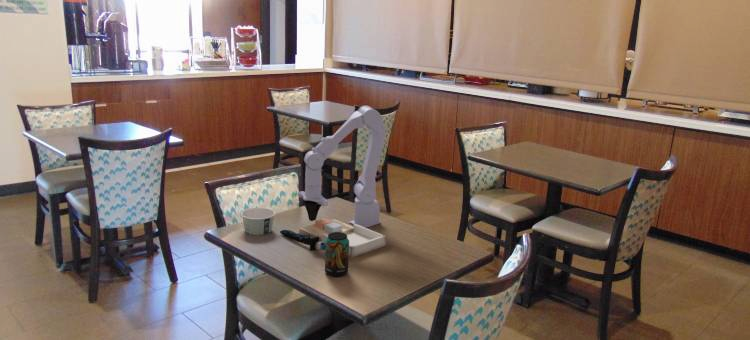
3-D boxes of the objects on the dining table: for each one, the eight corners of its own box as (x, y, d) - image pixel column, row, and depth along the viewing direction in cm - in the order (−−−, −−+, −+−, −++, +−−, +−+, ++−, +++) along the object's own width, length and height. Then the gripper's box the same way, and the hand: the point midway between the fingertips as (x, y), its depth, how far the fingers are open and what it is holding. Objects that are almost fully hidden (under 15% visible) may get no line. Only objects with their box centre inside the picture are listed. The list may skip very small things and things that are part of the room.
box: (355, 233, 203) (355, 223, 202) (385, 245, 193) (386, 235, 192) (321, 243, 192) (321, 234, 191) (351, 257, 182) (351, 247, 181)
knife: (341, 257, 179) (340, 243, 178) (333, 259, 177) (333, 245, 176) (286, 237, 201) (285, 225, 200) (279, 239, 199) (278, 227, 198)
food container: (234, 228, 202) (234, 211, 200) (264, 222, 210) (264, 205, 208) (252, 239, 193) (252, 221, 192) (281, 231, 201) (282, 214, 199)
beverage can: (329, 279, 166) (330, 241, 163) (321, 269, 172) (322, 232, 169) (351, 275, 169) (352, 238, 166) (343, 266, 175) (344, 230, 172)
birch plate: (333, 223, 211) (333, 218, 210) (355, 233, 203) (355, 227, 202) (299, 233, 200) (299, 228, 199) (321, 243, 192) (321, 238, 191)
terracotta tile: (324, 223, 205) (324, 218, 205) (332, 226, 202) (333, 221, 202) (315, 226, 202) (315, 220, 202) (323, 229, 199) (323, 224, 199)
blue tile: (333, 227, 202) (333, 222, 201) (342, 230, 199) (342, 225, 198) (324, 230, 199) (324, 224, 198) (332, 233, 196) (332, 228, 195)
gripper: (291, 181, 205) (291, 217, 208) (317, 191, 195) (316, 228, 199) (307, 178, 210) (306, 213, 213) (332, 187, 200) (331, 223, 204)
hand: (312, 220), depth 206 cm, fingers closed
